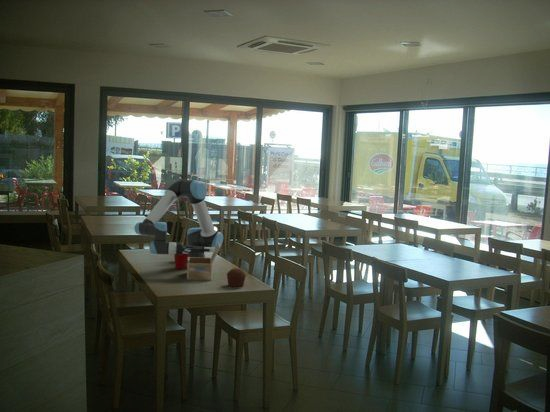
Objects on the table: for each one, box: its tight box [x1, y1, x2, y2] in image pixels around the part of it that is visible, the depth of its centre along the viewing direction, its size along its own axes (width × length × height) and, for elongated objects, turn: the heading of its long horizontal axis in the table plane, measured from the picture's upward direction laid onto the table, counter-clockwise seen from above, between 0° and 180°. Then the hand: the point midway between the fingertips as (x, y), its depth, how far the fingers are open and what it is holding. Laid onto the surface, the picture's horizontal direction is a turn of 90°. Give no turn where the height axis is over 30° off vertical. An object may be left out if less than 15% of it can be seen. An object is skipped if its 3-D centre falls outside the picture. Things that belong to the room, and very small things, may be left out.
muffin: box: [226, 267, 247, 288], centre depth 334 cm, size 12×11×10 cm
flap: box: [210, 242, 221, 264], centre depth 353 cm, size 19×1×10 cm, turn 7°
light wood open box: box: [186, 257, 213, 281], centre depth 353 cm, size 21×14×10 cm
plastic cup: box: [173, 252, 189, 270], centre depth 373 cm, size 11×11×12 cm
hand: (215, 250), depth 352 cm, fingers closed
